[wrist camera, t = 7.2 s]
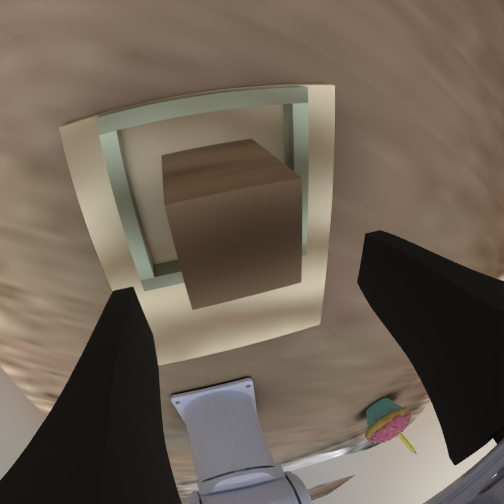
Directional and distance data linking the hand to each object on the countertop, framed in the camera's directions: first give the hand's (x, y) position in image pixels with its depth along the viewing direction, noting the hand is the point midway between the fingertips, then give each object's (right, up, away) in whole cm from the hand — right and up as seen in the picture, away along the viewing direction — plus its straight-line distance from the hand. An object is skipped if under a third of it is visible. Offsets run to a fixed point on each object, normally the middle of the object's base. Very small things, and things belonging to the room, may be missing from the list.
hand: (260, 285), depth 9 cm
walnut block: (-2, +4, +7) cm, 8 cm away
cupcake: (+21, -26, +36) cm, 49 cm away
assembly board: (-2, +1, +10) cm, 10 cm away
